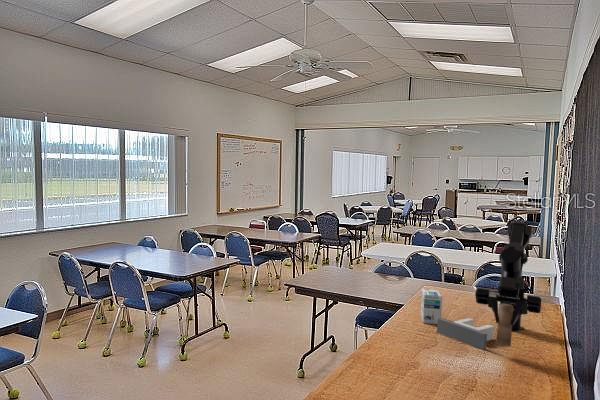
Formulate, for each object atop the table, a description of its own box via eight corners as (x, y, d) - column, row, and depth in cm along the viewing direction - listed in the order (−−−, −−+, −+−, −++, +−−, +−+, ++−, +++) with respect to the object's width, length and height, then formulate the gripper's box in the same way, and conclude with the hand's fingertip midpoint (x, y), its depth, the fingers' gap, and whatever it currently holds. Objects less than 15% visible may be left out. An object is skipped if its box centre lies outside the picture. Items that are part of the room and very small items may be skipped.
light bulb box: (441, 325, 170) (443, 296, 169) (422, 323, 171) (424, 294, 171) (437, 316, 181) (439, 289, 180) (419, 315, 182) (421, 288, 181)
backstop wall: (439, 332, 162) (440, 317, 162) (486, 349, 147) (487, 333, 147) (436, 332, 161) (437, 318, 161) (483, 349, 146) (484, 334, 146)
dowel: (501, 340, 145) (503, 302, 144) (513, 344, 141) (516, 306, 141) (493, 342, 142) (496, 304, 142) (505, 346, 139) (508, 307, 138)
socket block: (467, 330, 165) (468, 318, 164) (493, 339, 157) (494, 326, 156) (451, 334, 160) (452, 321, 159) (477, 343, 151) (478, 330, 151)
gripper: (478, 262, 148) (470, 304, 139) (543, 270, 140) (539, 315, 130) (479, 282, 156) (472, 323, 147) (542, 291, 147) (538, 335, 138)
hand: (504, 323), depth 140 cm, fingers closed on dowel, 4 cm apart
